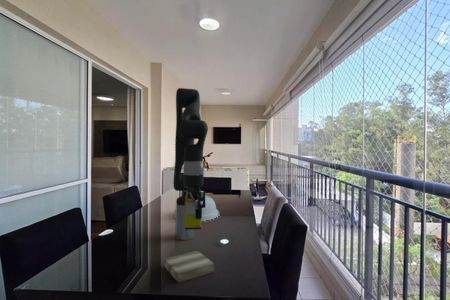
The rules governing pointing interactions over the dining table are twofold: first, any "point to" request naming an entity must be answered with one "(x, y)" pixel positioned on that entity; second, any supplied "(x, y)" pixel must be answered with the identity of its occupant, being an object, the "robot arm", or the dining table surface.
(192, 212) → the supplement box
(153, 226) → the dining table surface
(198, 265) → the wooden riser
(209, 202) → the dome cover
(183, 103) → the robot arm
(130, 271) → the dining table surface
